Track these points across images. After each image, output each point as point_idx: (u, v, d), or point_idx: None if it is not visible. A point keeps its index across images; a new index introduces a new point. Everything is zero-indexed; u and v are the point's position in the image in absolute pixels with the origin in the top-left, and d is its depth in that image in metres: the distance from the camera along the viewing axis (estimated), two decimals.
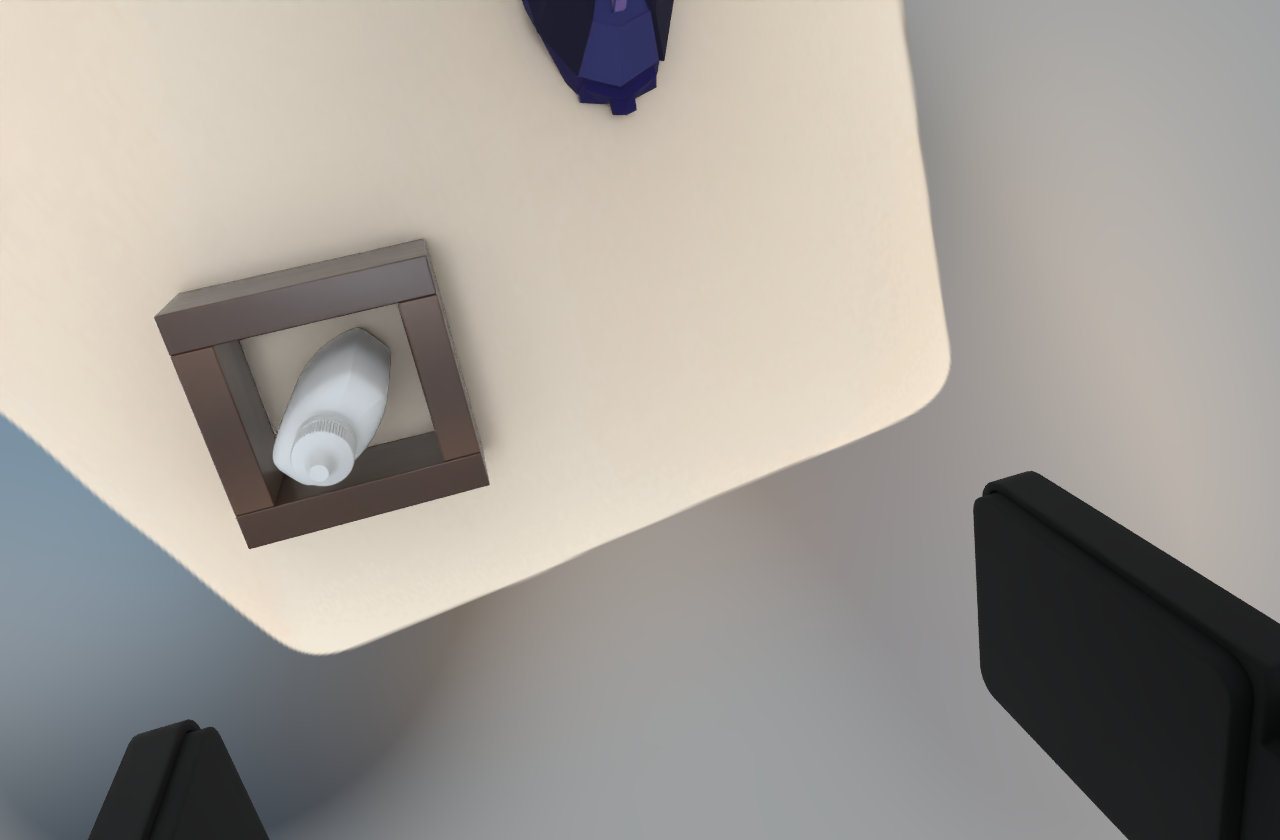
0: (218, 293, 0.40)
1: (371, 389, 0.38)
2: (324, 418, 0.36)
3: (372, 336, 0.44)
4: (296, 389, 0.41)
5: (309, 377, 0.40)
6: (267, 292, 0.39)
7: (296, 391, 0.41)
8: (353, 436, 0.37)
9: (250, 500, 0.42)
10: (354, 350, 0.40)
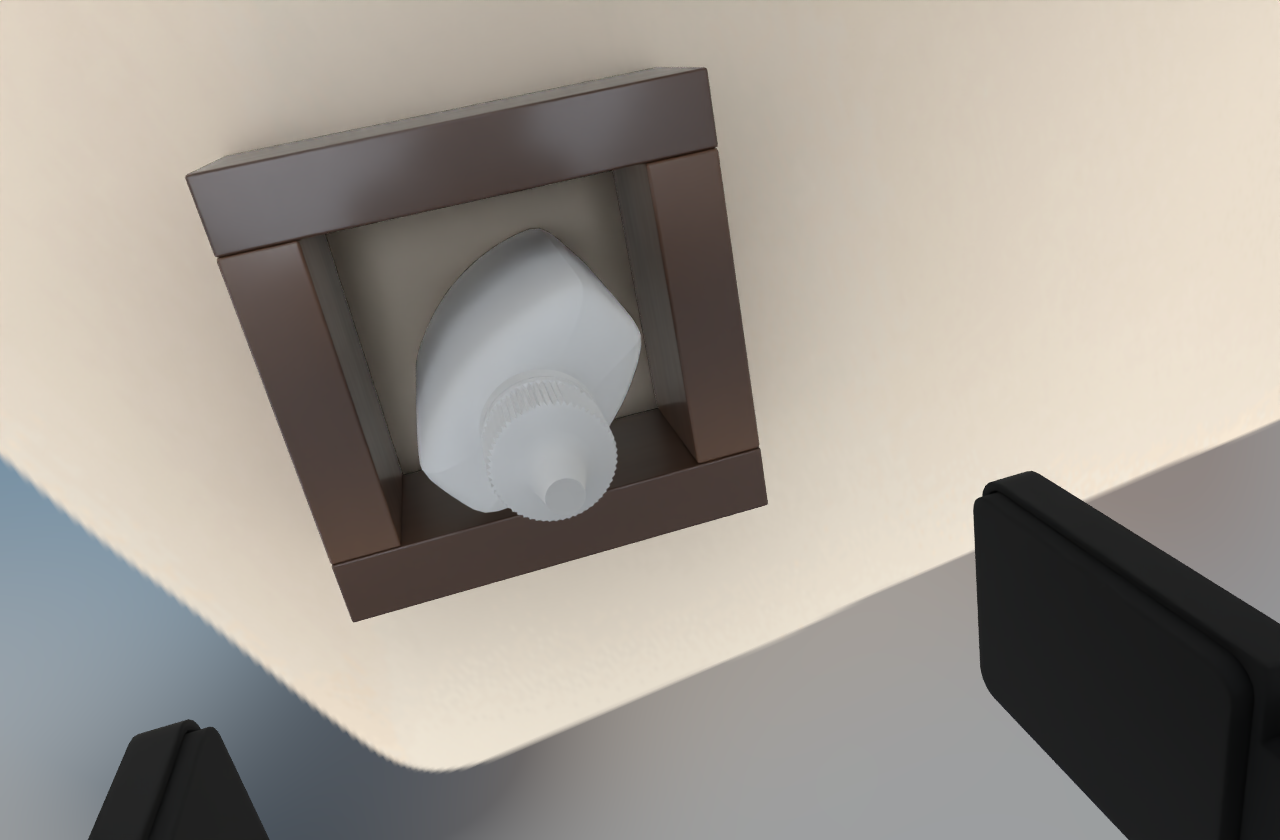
0: (304, 144, 0.21)
1: (621, 321, 0.19)
2: (546, 377, 0.17)
3: (562, 243, 0.25)
4: (446, 330, 0.22)
5: (477, 305, 0.21)
6: (407, 132, 0.19)
7: (450, 333, 0.21)
8: None
9: (359, 536, 0.23)
10: (560, 255, 0.21)
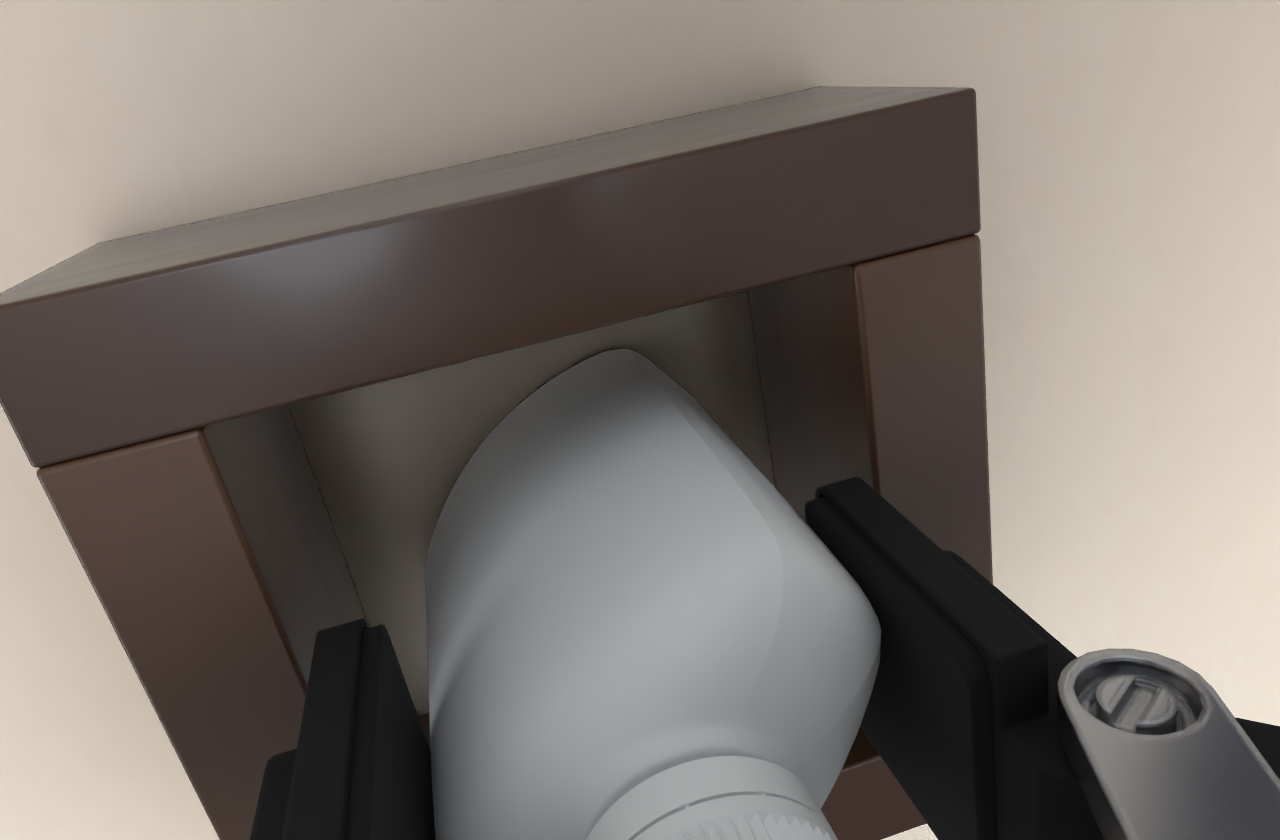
0: (222, 233, 0.11)
1: (855, 609, 0.09)
2: (734, 799, 0.08)
3: None
4: (481, 556, 0.12)
5: (543, 528, 0.11)
6: (413, 218, 0.10)
7: (490, 571, 0.12)
8: None
9: None
10: (693, 432, 0.12)
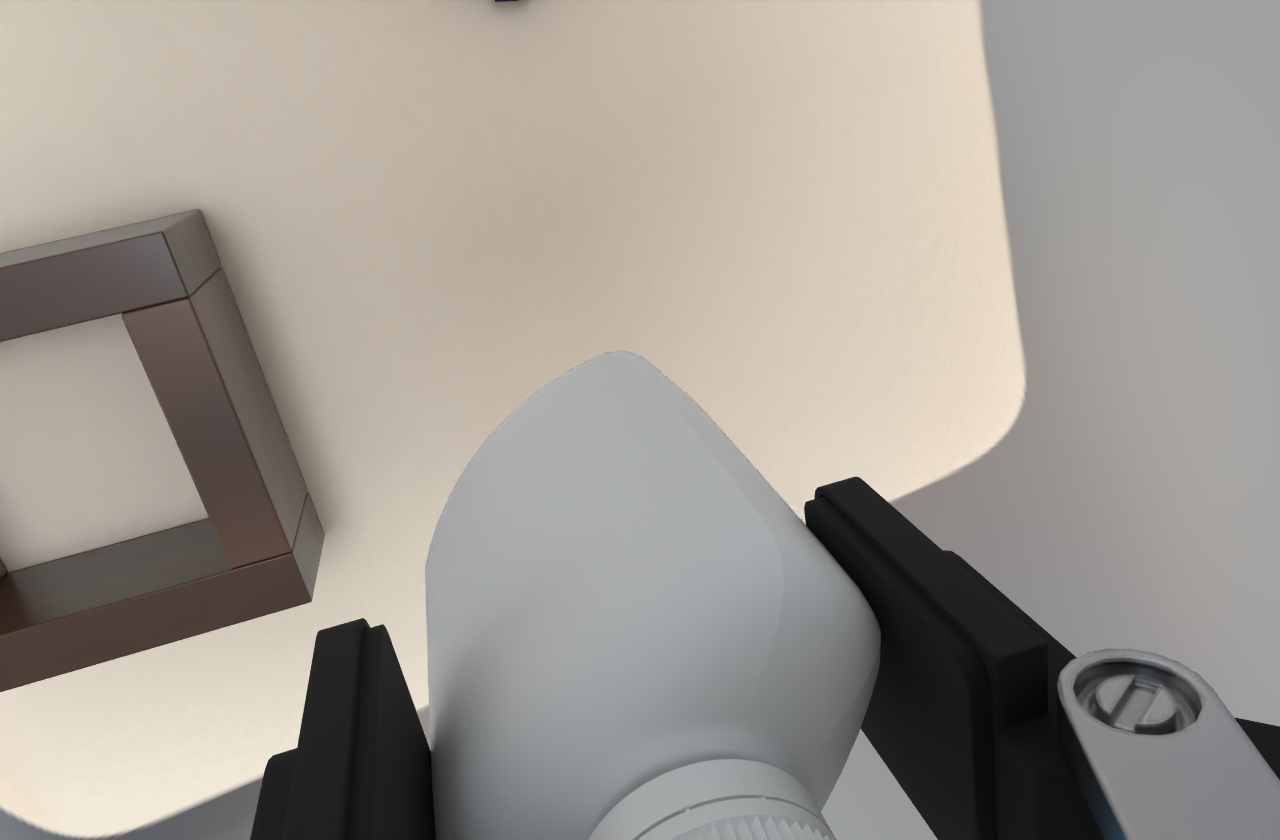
0: None
1: (854, 612, 0.09)
2: (734, 802, 0.08)
3: None
4: (481, 558, 0.12)
5: (543, 530, 0.11)
6: None
7: (491, 573, 0.12)
8: None
9: None
10: (694, 434, 0.12)
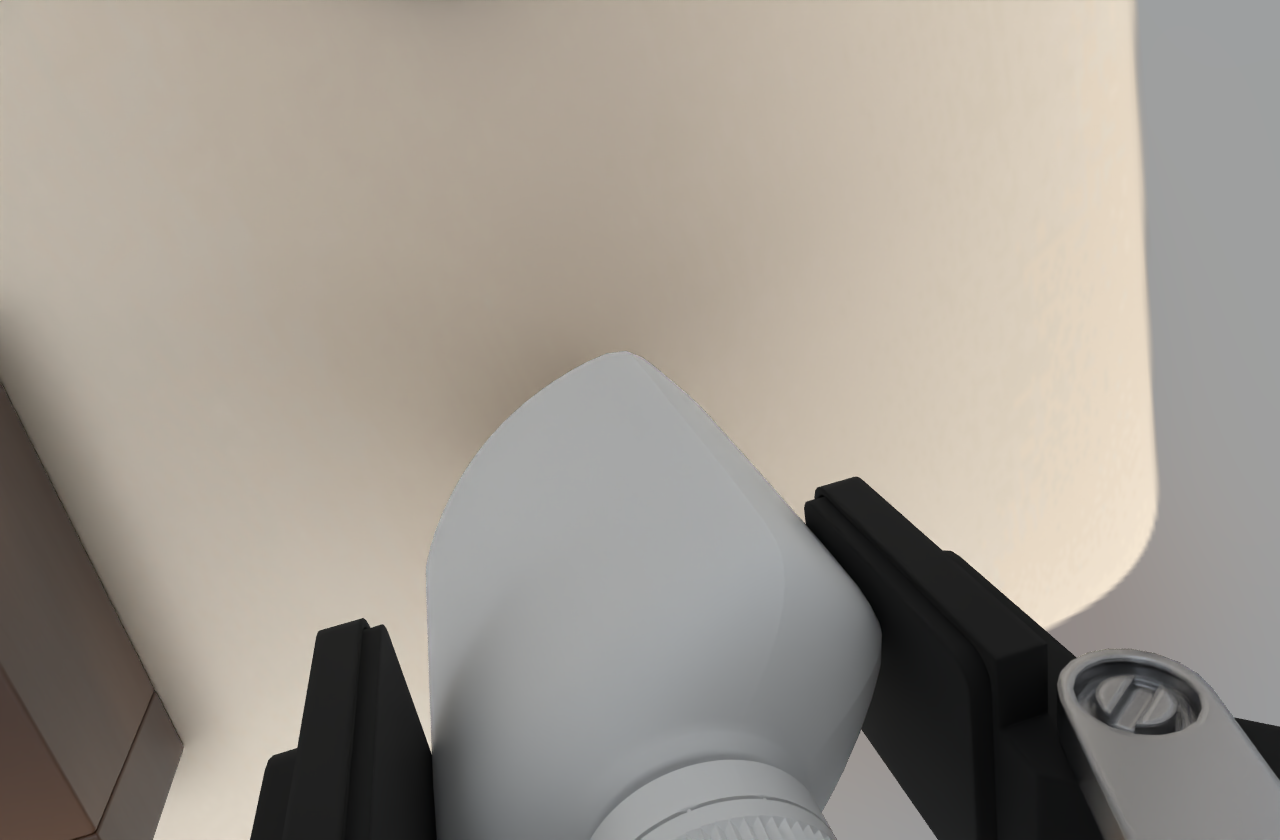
0: None
1: (856, 613, 0.09)
2: (736, 803, 0.08)
3: None
4: (482, 559, 0.12)
5: (544, 531, 0.11)
6: None
7: (492, 574, 0.12)
8: None
9: None
10: (694, 435, 0.12)
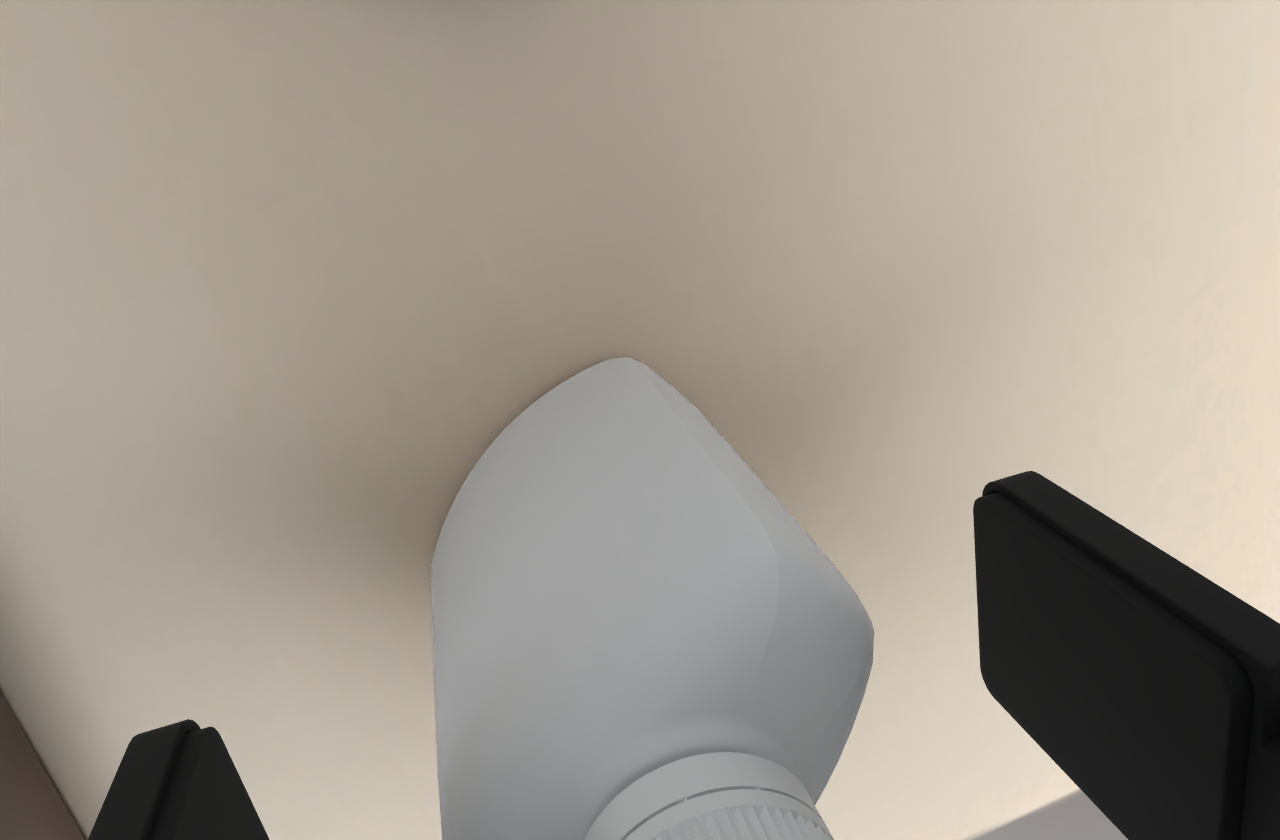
0: None
1: (848, 612, 0.10)
2: (730, 793, 0.08)
3: None
4: (486, 559, 0.13)
5: (547, 532, 0.12)
6: None
7: (495, 574, 0.12)
8: None
9: None
10: (693, 439, 0.12)
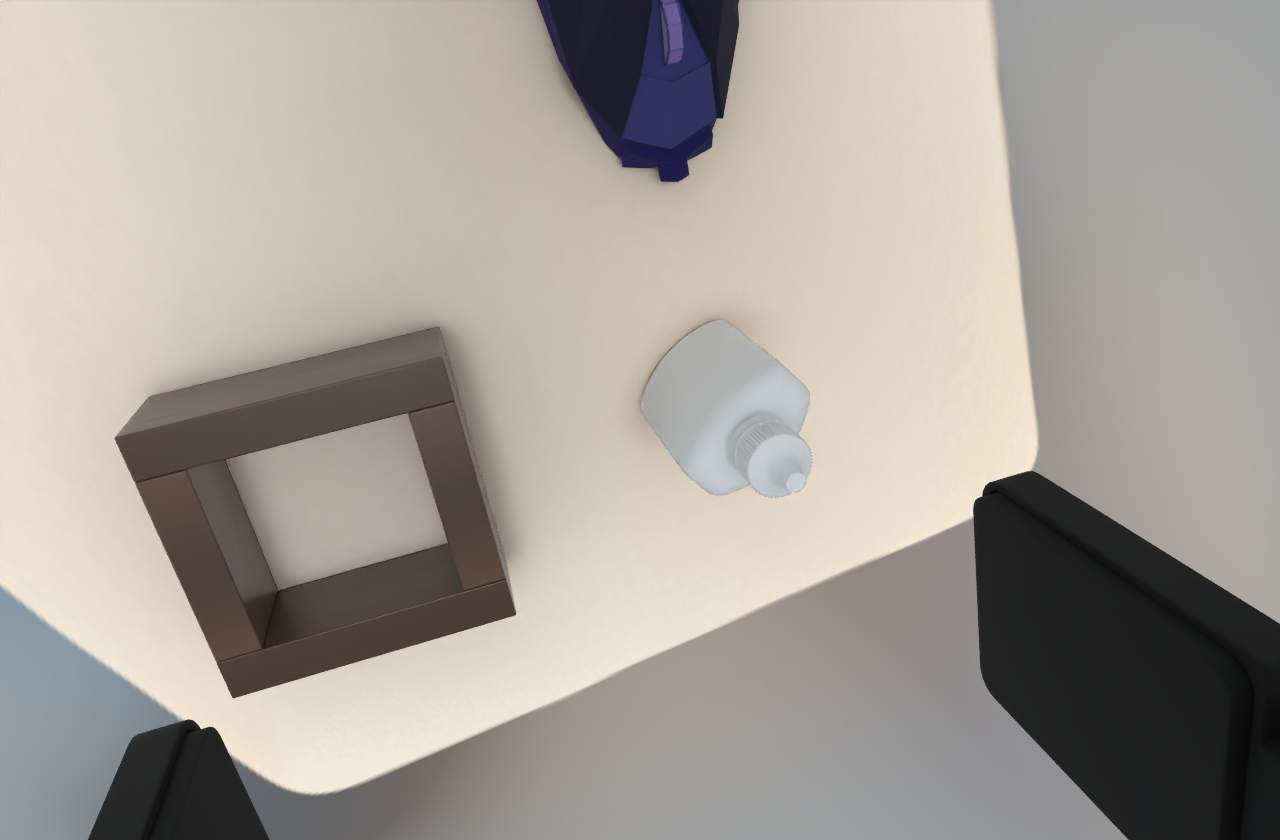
0: (194, 402, 0.33)
1: (801, 386, 0.33)
2: (770, 419, 0.32)
3: None
4: (679, 387, 0.37)
5: (705, 374, 0.36)
6: (251, 405, 0.32)
7: (686, 389, 0.36)
8: None
9: (233, 643, 0.35)
10: (753, 343, 0.36)
